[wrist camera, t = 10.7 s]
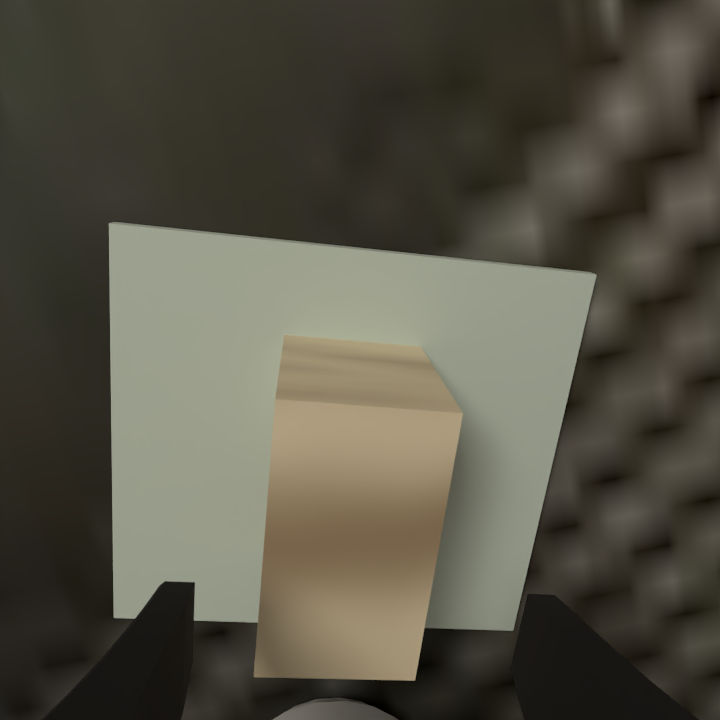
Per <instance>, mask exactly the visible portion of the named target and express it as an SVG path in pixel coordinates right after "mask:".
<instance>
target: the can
mask: <svg viewBox="0 0 720 720" xmlns="http://www.w3.org/2000/svg"><path fill="white" fill-rule="evenodd" d="M273 720H398V719H397V718H395V717H393V716H391V715H389V714H387V713H385V712H383V711H381V710H379V709H378V708H376V707H374V706H369V705H367V704H365V703H364V702H361V701H356V700H351V699H346V698H323V699H315V700H312V701H309V702H306V703H302V704H299V705H296V706H294V707H293V708H291V709H289V710H288V711H286V712H284V713H282V714H281V715H279V716H278V717H276V718H274V719H273Z"/></svg>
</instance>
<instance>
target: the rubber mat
mask: <svg viewBox="0 0 720 720" xmlns="http://www.w3.org/2000/svg"><path fill="white" fill-rule="evenodd" d="M109 268H110V349H111V430H112V511H113V592H114V618H133V619H135V618H136V617H137V615H138V614H139V613H140V612H141V610H142V609H143V608H144V606H145V605H146V604H147V602H148V601H149V600H150V598H151V597H152V595H153V594H154V593H155V591H156V590H157V588H158V587H159V586H160V585H161V584H162V583H163V582H165V581H172V582H195V597H194V620H195V621H226V622H257V623H258V615H259V602H260V589H261V576H262V563H263V550H264V537H265V524H266V511H267V498H268V485H269V472H270V459H271V446H272V433H273V420H274V407H275V396H276V389H277V382H278V375H279V368H280V361H281V354H282V347H283V340H284V335H295V336H306V337H317V338H329V339H340V340H352V341H363V342H374V343H386V344H397V345H408V346H420V347H421V348H422V349H423V351H424V352H425V354H426V355H427V357H428V359H429V360H430V362H431V363H432V365H433V366H434V368H435V370H436V371H437V373H438V374H439V376H440V378H441V379H442V381H443V382H444V384H445V385H446V387H447V389H448V390H449V392H450V393H451V395H452V396H453V398H454V400H455V401H456V403H457V404H458V406H459V408H460V409H461V411H462V412H463V417H462V422H461V428H460V433H459V439H458V445H457V450H456V456H455V461H454V467H453V472H452V478H451V483H450V489H449V495H448V500H447V506H446V511H445V517H444V522H443V528H442V533H441V539H440V545H439V550H438V556H437V561H436V567H435V572H434V578H433V583H432V589H431V595H430V600H429V606H428V611H427V617H426V622H425V628H444V629H475V630H506V631H513V629H514V625H515V621H516V617H517V612H518V608H519V604H520V600H521V595H522V591H523V587H524V582H525V578H526V574H527V570H528V565H529V561H530V557H531V553H532V548H533V544H534V540H535V536H536V531H537V527H538V523H539V518H540V514H541V510H542V506H543V501H544V497H545V493H546V489H547V484H548V480H549V476H550V472H551V467H552V463H553V459H554V454H555V450H556V446H557V442H558V437H559V433H560V429H561V425H562V420H563V416H564V412H565V408H566V403H567V399H568V395H569V390H570V386H571V382H572V378H573V373H574V369H575V365H576V361H577V356H578V352H579V348H580V344H581V339H582V335H583V331H584V326H585V322H586V318H587V314H588V309H589V305H590V301H591V297H592V292H593V288H594V284H595V280H596V274H593V273H591V272H584V271H575V270H565V269H556V268H546V267H537V266H527V265H518V264H508V263H499V262H489V261H480V260H471V259H461V258H452V257H442V256H433V255H423V254H414V253H404V252H395V251H385V250H376V249H366V248H357V247H347V246H338V245H328V244H319V243H309V242H300V241H290V240H281V239H271V238H262V237H252V236H243V235H233V234H224V233H214V232H205V231H196V230H186V229H177V228H167V227H158V226H148V225H139V224H129V223H120V222H112V223H109Z"/></svg>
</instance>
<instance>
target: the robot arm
mask: <svg viewBox="0 0 720 720" xmlns="http://www.w3.org/2000/svg"><path fill="white" fill-rule="evenodd" d="M194 597H195V582H172V581H165V582H163V583H162V584H161V585H160V586H159V587H158V588H157V590H156V591H155V593H154V594H153V595H152V597H151V598H150V600H149V601H148V602H147V604H146V605H145V606H144V608H143V609H142V610H141V612H140V613H139V614H138V615H137V617H136V618H135V619H134V620H133V622H132V623H131V624H130V625H129V627H128V628H127V629H126V630H125V632H124V633H123V634H122V635H121V636H120V637H119V639H118V640H117V641H116V642H115V643H114V645H113V646H112V647H111V648H110V649H109V650H108V652H107V653H106V654H105V655H104V656H103V657H102V658H101V660H100V661H99V662H98V663H97V664H96V665H95V666H94V667H93V668H92V669H91V670H90V671H89V672H88V674H87V675H86V676H85V677H84V678H83V679H82V680H81V681H80V682H79V683H78V684H77V685H76V686H75V687H74V688H73V689H72V690H71V692H70V693H69V694H68V695H67V696H66V697H65V698H64V699H63V700H62V701H60V702H59V703H58V704H57V705H56V706H55V707H54V708H53V709H52V710H51V711H50V712H49V713H48V714H47V715H46V716H45V717H44V718H43V719H42V720H181V717H182V713H183V709H184V704H185V699H186V694H187V688H188V683H189V678H190V672H191V667H192V662H193V630H194ZM511 671H512V675H513V679H514V683H515V687H516V691H517V695H518V698H519V702H520V705H521V709H522V712H523V716H524V718H525V720H699V719H697V718H696V717H695V716H693V715H692V714H691V713H690V712H688V711H687V710H686V709H684V708H683V707H682V706H680V705H679V704H678V703H677V702H676V701H674V700H673V699H672V698H671V697H669V696H668V695H667V694H666V693H664V692H663V691H662V690H661V689H660V688H658V687H657V686H656V685H655V684H653V683H652V682H651V681H650V680H649V679H648V678H646V677H645V676H644V675H643V674H642V673H640V672H639V671H638V670H637V669H636V668H635V667H634V666H632V665H631V664H630V663H629V662H628V661H627V660H626V659H624V658H623V657H622V656H621V655H620V654H619V653H618V652H617V651H616V650H614V649H613V648H612V647H611V646H610V645H609V644H608V643H607V642H606V641H605V640H603V639H602V638H601V637H600V636H599V635H598V634H597V633H596V632H595V631H594V630H593V629H591V628H590V627H589V626H588V625H587V624H586V623H585V622H584V621H583V620H582V619H581V618H580V617H578V616H577V615H576V614H575V613H574V612H573V611H572V610H571V609H570V608H569V607H567V606H566V605H565V604H564V603H563V602H562V601H561V600H559V599H558V598H557V597H556V596H555V595H540V594H528V595H527V599H526V604H525V608H524V612H523V617H522V621H521V625H520V629H519V634H518V638H517V642H516V647H515V651H514V655H513V660H512V664H511Z"/></svg>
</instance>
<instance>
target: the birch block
mask: <svg viewBox="0 0 720 720" xmlns="http://www.w3.org/2000/svg"><path fill="white" fill-rule="evenodd" d="M462 417H463V412H462V411H461V409H460V408H459V406H458V404H457V403H456V401H455V400H454V398H453V396H452V395H451V393H450V392H449V390H448V389H447V387H446V385H445V384H444V382H443V381H442V379H441V378H440V376H439V374H438V373H437V371H436V370H435V368H434V366H433V365H432V363H431V362H430V360H429V359H428V357H427V355H426V354H425V352H424V351H423V349H422V348H421V347H420V346H408V345H397V344H386V343H374V342H363V341H352V340H340V339H329V338H317V337H306V336H295V335H284V340H283V347H282V354H281V361H280V368H279V375H278V382H277V389H276V396H275V407H274V420H273V433H272V446H271V459H270V472H269V485H268V498H267V511H266V524H265V537H264V550H263V563H262V576H261V589H260V602H259V615H258V628H257V641H256V654H255V667H254V677H273V678H318V679H363V680H408V681H415V678H416V672H417V667H418V661H419V656H420V650H421V645H422V639H423V633H424V628H425V622H426V617H427V611H428V606H429V600H430V595H431V589H432V583H433V578H434V572H435V567H436V561H437V556H438V550H439V545H440V539H441V533H442V528H443V522H444V517H445V511H446V506H447V500H448V495H449V489H450V483H451V478H452V472H453V467H454V461H455V456H456V450H457V445H458V439H459V433H460V428H461V422H462Z"/></svg>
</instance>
